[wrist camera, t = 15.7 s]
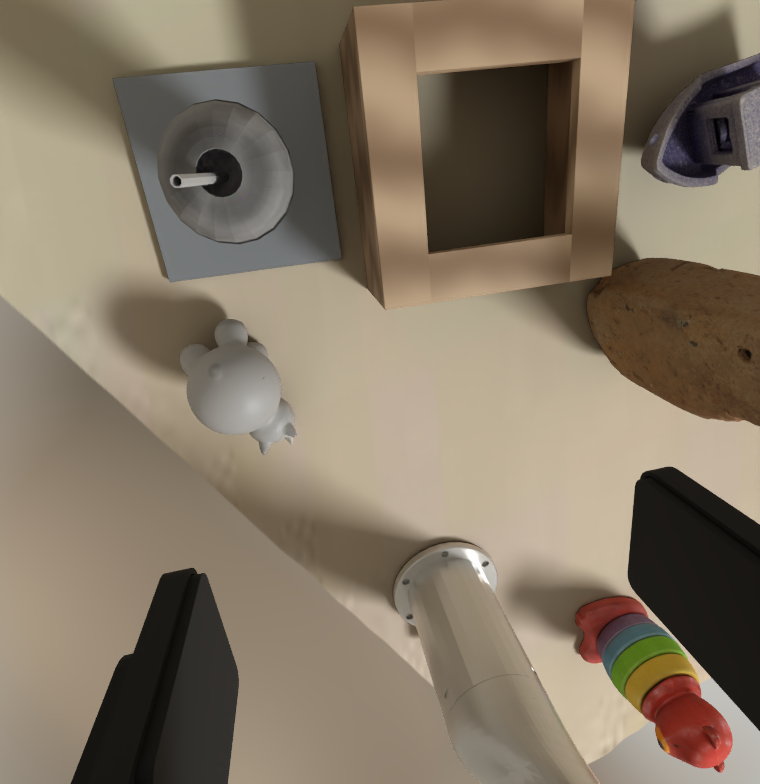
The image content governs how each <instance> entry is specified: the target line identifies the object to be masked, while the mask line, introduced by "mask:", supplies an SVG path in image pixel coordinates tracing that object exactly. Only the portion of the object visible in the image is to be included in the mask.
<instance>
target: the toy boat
mask: <svg viewBox="0 0 760 784" xmlns="http://www.w3.org/2000/svg"><path fill="white" fill-rule="evenodd" d="M641 165H642V167H643V168H644V169H645V170H646V171H647V172H649V173H650V174H651V175H653V177H655V178H656V179H658V180H660V181H662V182H665V183H673V184H676V185H679V186H683V187H702V186H709V185H713V184H716V183H717V182H718V175H720V174H721V173H722V172H724V171H725V170H726V169H727V168H728V167H730V166H741V168H742V170H752V169H754V168H756V167H758V166H760V53H759V54H757V55H754V56H751V57H748V58H746V59H743V60H740V61H738V62H735V63H732V64H729V65H727V66H724V67H721V68H718V69H715V70H712V71H710V72H707V73H704V74H702V75H700V76H698V77H697V78H695V79H694V81H693V83H691V84H690V85H689V86H688V87H686V88H685V89H684V90H683V91H682V92H681V93H680V94H679V95H678V96H676V97H675V98H674V100H673V101H672V102H671V103H670V104H669V105H668V107H667V108H666V109H665V110H664V112H663V113H662V114H661V116H660V117H659V119H658V120H657V122H656V124H655V125H654V127H653V129H652V131H651V133H650V135H649V137H648V140H647V142H646V145H645V148H644V151H643V154H642V158H641Z"/></svg>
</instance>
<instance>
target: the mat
mask: <svg viewBox="0 0 760 784" xmlns="http://www.w3.org/2000/svg"><path fill="white" fill-rule="evenodd" d="M112 79H113V83H114V86H115V90H116V93H117V97H118V101H119V104H120V108H121V111H122V115H123V118H124V122H125V125H126V129H127V132H128V136H129V139H130V143H131V147H132V150H133V154H134V157H135V161H136V164H137V168H138V171H139V175H140V178H141V182H142V186H143V189H144V193H145V196H146V200H147V203H148V207H149V210H150V214H151V217H152V221H153V224H154V228H155V232H156V235H157V239H158V242H159V246H160V249H161V253H162V256H163V260H164V263H165V267H166V271H167V274H168V278H169V281H170V282H176V281H183V280H191V279H198V278H205V277H212V276H220V275H227V274H234V273H242V272H249V271H256V270H264V269H271V268H278V267H285V266H293V265H300V264H307V263H315V262H322V261H329V260H336V259H342V257H341V250H340V243H339V235H338V228H337V221H336V213H335V206H334V199H333V191H332V184H331V177H330V169H329V162H328V155H327V147H326V140H325V133H324V125H323V118H322V111H321V103H320V96H319V88H318V81H317V74H316V66H315V61H312V62H300V63H288V64H277V65H265V66H253V67H241V68H229V69H218V70H206V71H194V72H182V73H170V74H159V75H147V76H135V77H123V78H112ZM214 99H218V100H225V101H232V102H239V103H241V104H243V105H245V106H247V107H249V108H251V109H253V110H255V111H257V112H259V113H260V114H261V115H262V116H263V117H264V118H265V119H266V120H267V121H268V122H270V123H271V124H272V125H273V126H274V127H275V128H276V129H277V130H278V132H279V134H280V136H281V137H282V139H283V141H284V142H285V144H286V146H287V147H288V149H289V152H290V156H291V160H292V164H293V167H294V171H295V180H294V196H293V198H292V201H291V204H290V207H289V210H288V213H287V215H286V216H285V217H284V218H283V220H282V221H281V222H280V223H279V225H278V226H277V227H276V229H275V230H273V231H272V232H270V233H268V234H267V235H265V236H264V237H262V238H261V239H259V240H256V241H252V242H247V243H243V244H228V243H218V242H216V241H213V240H211V239H208V238H206V237H203V236H201V235H198V234H197V233H196V232H195V231H193V230H192V229H191V228H190V227H188V226H187V225H186V224H185V223H183V222H182V221H181V220H180V219H179V218H178V216H177V215H176V213H175V212H174V211H173V209H172V208H171V207H170V205H169V204H168V202H167V201H166V198H165V196H164V193H163V190H162V187H161V185H160V182H159V179H158V167H157V153H158V149H159V146H160V142H161V138H162V134H163V133H164V132H165V130H166V129H167V127H168V126H169V124H170V123H171V122H172V120H173V119H174V117H175V116H176V115H178V114H179V113H181V112H182V111H184V110H185V109H187V108H188V107H190V106H191V105H193V104H195V103H200V102H204V101H209V100H214Z"/></svg>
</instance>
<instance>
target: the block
mask: <svg viewBox="0 0 760 784" xmlns="http://www.w3.org/2000/svg"><path fill="white" fill-rule="evenodd" d="M587 313H588V318H589V323H590V327H591V330H592V332H593V334H594V336H595V339H596V340H597V341H598V342H599V343H600V345H601V349H602V351H603V352H604V354H605V355H606V356H607V358H608V359H609V360H610V363H611V364H612V365H613V366H614V367H615V368H616V369H617V370H618V371H619V372H620V373H621V374H622V375H623V376H625V377H626V378H628V379H629V380H631V381H632V382H634V383H635V384H637V385H639V386H641V387H643V388H645V389H646V390H648V391H650V392H651V393H653V394H655V395H657V396H659V397H660V398H662V399H664V400H666V401H667V402H669V403H671V404H673V405H675V406H677V407H679V408H681V409H683V410H685V411H687V412H690V413H692V414H694V415H697V416H699V417H702V418H706V419H717V420H724V421H738V422H739V421H742V420H746V421H749V422H751V423H752V424H754V425H757V426H760V276H758V275H754V274H749V273H744V272H739V271H734V270H726V269H716V268H714V267H711V266H709V265H705V264H701V263H696V262H690V261H683V260H677V259H668V258H645V259H641V260H638V261H635V262H631V263H628V264H625V265H623V266H621V267H618V268H616V269H614V270H612V274H611V276H605V277H603V278H602V279H601V281H600V283H599V284H598V285H597V287H595V289H594V290H593V291H592V292H591V293H590V294H589V296H588V300H587Z"/></svg>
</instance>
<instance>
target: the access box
mask: <svg viewBox="0 0 760 784" xmlns="http://www.w3.org/2000/svg"><path fill="white" fill-rule="evenodd" d="M634 6H635V0H439V1H425V2H411V3H397V4H383V5H369V6H355V7H353V10H352V12H351V15H350V18H349V20H348V23H347V26H346V28H345V31H344V34H343V36H342V39H341V42H340V44H339V47H340V55H341V64H342V72H343V81H344V89H345V98H346V106H347V115H348V123H349V132H350V140H351V149H352V157H353V166H354V174H355V183H356V191H357V200H358V208H359V217H360V225H361V234H362V242H363V251H364V259H365V268H366V276H367V285H368V290H369V291H370V292H371V294H372V295H373V296H374V297H375V298H376V299H377V301H378V302H379V303H380V304H381V305H382V306H383V308H384V309H385V310H388V309H395V308H401V307H408V306H414V305H421V304H427V303H434V302H441V301H447V300H454V299H460V298H467V297H473V296H480V295H487V294H493V293H500V292H506V291H513V290H519V289H526V288H533V287H539V286H546V285H552V284H559V283H565V282H572V281H579V280H585V279H592V278H598V277H605V276H611V274H612V262H613V251H614V239H615V227H616V216H617V204H618V192H619V181H620V169H621V157H622V146H623V134H624V123H625V111H626V99H627V88H628V76H629V64H630V53H631V41H632V29H633V18H634ZM548 63H549V74H548V108H547V143H546V177H545V212H544V236H542V237H535V238H528V239H521V240H513V241H506V242H499V243H492V244H484V245H477V246H470V247H463V248H456V249H448V250H441V251H434V252H428V240H427V225H426V209H425V194H424V179H423V163H422V148H421V132H420V117H419V102H418V86H417V75H427V74H438V73H449V72H460V71H471V70H482V69H493V68H504V67H515V66H526V65H537V64H548Z"/></svg>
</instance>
